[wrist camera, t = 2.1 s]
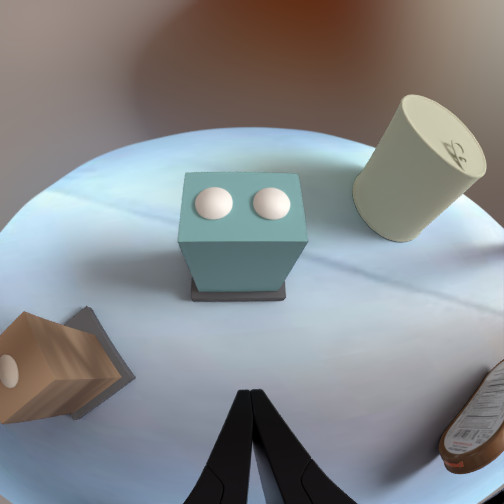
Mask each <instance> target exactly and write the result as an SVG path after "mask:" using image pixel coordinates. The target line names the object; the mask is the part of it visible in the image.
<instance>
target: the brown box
mask: <svg viewBox="0 0 504 504" xmlns="http://www.w3.org/2000/svg"><path fill="white" fill-rule="evenodd" d="M120 378H121V375H120V374H119V372H118V371H117V369H116V368H115V366H114V365H113V363H112V362H111V360H110V359H109V357H108V356H107V354H106V352H105V351H104V349H103V348H102V346H101V344H100V343H99V341H98V339H97V338H96V336H95V335H94V334H90V333H87V332H83V331H80V330H77V329H73V328H70V327H67V326H64V325H61V324H58V323H55V322H52V321H49V320H46V319H43V318H41V317H38V316H35V315H33V314H30V313H27V312H25V311H24V312H23V313H22V314H21V315H20V316H19V317H18V318H17V319H16V320H15V321H14V322H13V323H12V324H11V325H10V326H9V327H8V328H7V329H6V330H5V331H4V332H3V333H2V334H1V335H0V422H1V424H10V423H18V422H25V421H31V420H38V419H43V418H49V417H54V416H59V415H64V414H69V413H74V412H75V411H77V410H78V409H80V408H81V407H82V406H84V405H85V404H86V403H88V402H89V401H90V400H92V399H93V398H94V397H96V396H97V395H99V394H100V393H101V392H103V391H104V390H105V389H107V388H108V387H109V386H111V385H112V384H113V383H115V382H116V381H117V380H119V379H120Z"/></svg>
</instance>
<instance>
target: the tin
mask: <svg viewBox="0 0 504 504" xmlns="http://www.w3.org/2000/svg"><path fill="white" fill-rule="evenodd" d="M503 451H504V359H503V360H502V361H501V362H500V363H498V364H497V365H496V366H495V367H494V368H493V369H492V370H491V371H490V372H489V373H488V374H487V376H486V377H485V378H484V380H483V381H482V383H481V384H480V386H479V387H478V388H477V390H476V391H475V393H474V394H473V395H472V397H471V398H470V399H469V401H468V402H467V404H466V405H465V406H464V407H463V409H462V410H461V411H460V413H459V414H458V415H457V416H456V417H455V419H454V420H453V421H452V422H451V423H450V425H449V426H448V427H447V429H446V430H445V431H444V433H443V435H442V437H441V439H440V442H439V452H440V455H441V457H442V459H443V461H444V465H445V467H446V469H447V470H448V471H449V472H451V473H454V474H466V473H470V472H474V471H476V470H479V469H481V468H483V467H484V466H486V465H488V464H489V463H491V462H492V461H493V460H495V459H496V458H497V457H498V456H499V455H500V454H501V453H502V452H503Z"/></svg>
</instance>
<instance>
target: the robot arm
mask: <svg viewBox="0 0 504 504" xmlns="http://www.w3.org/2000/svg"><path fill="white" fill-rule="evenodd" d="M252 443H253V449H254V453H255V458H256V462H257V466H258V471H259V475H260V479H261V483H262V488H263V492H264V496H265V500H266V504H357V503H356V502H355V501H354V500H353V499H351V498H350V497H349V496H348V495H347V494H346V493H344V492H343V491H342V490H341V489H340V488H339V487H338V486H337V485H336V484H334V483H333V482H332V481H331V480H330V479H329V478H328V477H327V476H326V474H325V473H324V472H323V471H322V470H321V469H320V467H319V466H318V465H317V464H316V462H315V461H314V460H313V459H311V456H310V455H309V454H308V452H307V451H306V450H305V448H304V447H303V446H302V444H301V443H300V442H299V440H298V439H297V438H296V436H295V435H294V434H293V432H292V431H291V429H290V428H289V427H288V425H287V424H286V422H285V421H284V420H283V418H282V417H281V415H280V414H279V413H278V411H277V410H276V408H275V407H274V405H273V404H272V403H271V401H270V400H269V398H268V397H267V395H266V394H265V392H264V391H263V390H262V389H252V390H251V391H250V390H238V392H237V394H236V397H235V399H234V401H233V404H232V406H231V408H230V411H229V413H228V416H227V418H226V420H225V423H224V425H223V427H222V429H221V432H220V434H219V436H218V439H217V441H216V443H215V445H214V448H213V450H212V452H211V454H210V457H209V459H208V461H207V463H206V466H205V467H204V469H203V471H202V474H201V476H200V478H199V479H198V481H197V483H196V485H195V487H194V488H193V490H192V492H191V493H190V495H189V496H188V498H187V499H186V500H185V502H184V503H183V504H247V501H248V489H249V477H250V465H251V452H252ZM482 504H504V488H503V489H502V490H501V491H499V492H498V493H496V494H495V495H493V496H492V497H490V498H489V499H487V500H486V501H485V502H483V503H482Z"/></svg>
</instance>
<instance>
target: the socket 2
mask: <svg viewBox="0 0 504 504" xmlns="http://www.w3.org/2000/svg"><path fill="white" fill-rule="evenodd" d="M285 298H286V292H285V281H284V282H283V284H282V285H281V287H280V289H279V290H278V291H258V292H199V291H198V288H197V286H196V284H195V281H194V279H193V277H192V289H191V299H192V301H280V300H284V299H285Z"/></svg>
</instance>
